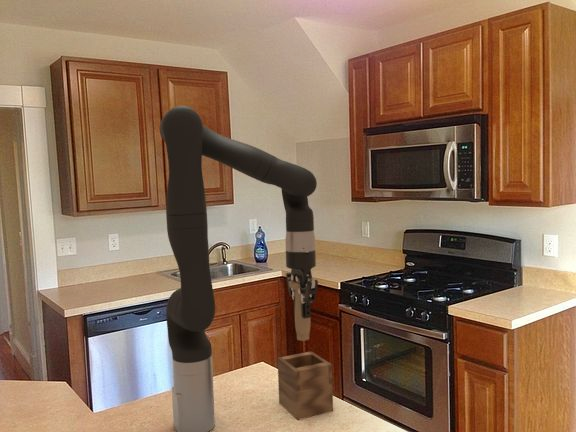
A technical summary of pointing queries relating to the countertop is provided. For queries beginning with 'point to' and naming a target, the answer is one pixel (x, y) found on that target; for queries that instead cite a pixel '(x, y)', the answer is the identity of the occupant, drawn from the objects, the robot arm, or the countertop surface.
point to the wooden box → (305, 384)
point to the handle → (300, 315)
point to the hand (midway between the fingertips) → (302, 315)
